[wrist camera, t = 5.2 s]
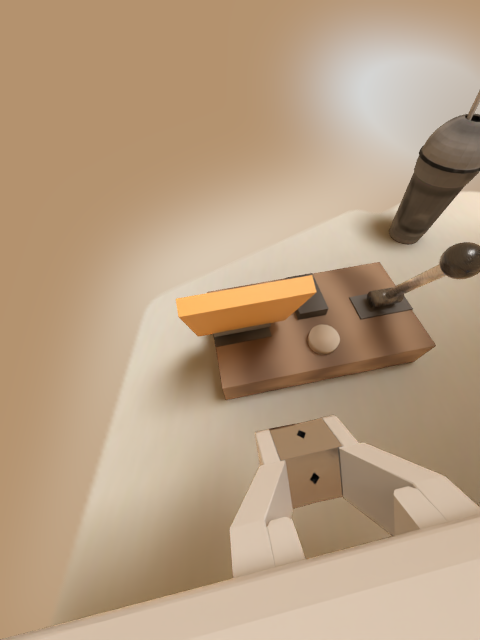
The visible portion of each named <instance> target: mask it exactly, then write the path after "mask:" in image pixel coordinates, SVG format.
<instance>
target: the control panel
mask: <svg viewBox="0 0 480 640" xmlns="http://www.w3.org/2000/svg"><path fill="white" fill-rule="evenodd" d="M309 275H312V276H313V280H314V284H315V288H316V293H315V294H314V295H313V296H312V297H311V298H309V299H308V300H307V301H306V302H305V303H304V304H303V305H302V306H300V307H299V308H298V309H297V310H296V311H295V312H294V313H293V314H291V315H290V316H289V317H288V318H287V319H286V320H284V321H279V322H274V323H271V327H266V328H261V329H256V330H250V331H245V332H240V333H234V334H229V335H224V336H218V337H214V340H215V346H216V352H217V358H218V364H219V370H220V377H221V383H222V389H223V392H224V395H225V399H226V400H228V399H233V398H238V397H243V396H248V395H253V394H258V393H262V392H267V391H272V390H277V389H282V388H287V387H292V386H297V385H301V384H306V383H311V382H316V381H321V380H326V379H331V378H335V377H340V376H345V375H350V374H355V373H360V372H365V371H370V370H374V369H379V368H384V367H389V366H394V365H399V364H404V363H408V362H413V361H416V360H417V359H418V358H420V357H421V356H422V355H424V354H425V353H427V352H428V351H429V350H431V349H432V348H433V347H435V346H436V345H435V343H434V342H433V340H432V339H431V338H430V336H429V335H428V333H427V332H426V330H425V329H424V327H423V326H422V324H421V323H420V321H419V320H418V318H417V317H416V315H415V314H414V312H413V311H412V309H413V308H412V307H411V306H410V304H409V303H408V301H407V300H406V298H405V297H404V298H403V300H402V302H400V303H395V304H389V305H384V306H378V307H371V306H370V305H369V304H368V301H367V294H368V292H369V291H374V290H379V289H385V288H390V287H395V284H394V283H393V281H392V280H391V278H390V277H389V275H388V274H387V273H386V271H385V270H384V268H383V267H382V265H381V264H380V262H377V263H371V264H366V265H360V266H354V267H348V268H343V269H337V270H331V271H325V272H320V273H314V274H312V273H311V274H305V275H299V276H293V277H288V278H285V279H280V280H274V281H268V282H262V283H257V284H251V285H245V286H239V287H234V288H228V289H222V290H216V291H211V292H207V293H212V292H218V291H224V290H229V289H235V288H241V287H246V286H252V285H258V284H264V283H269V282H275V281H281V280H287V279H292V278H298V277H304V276H309Z"/></svg>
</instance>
